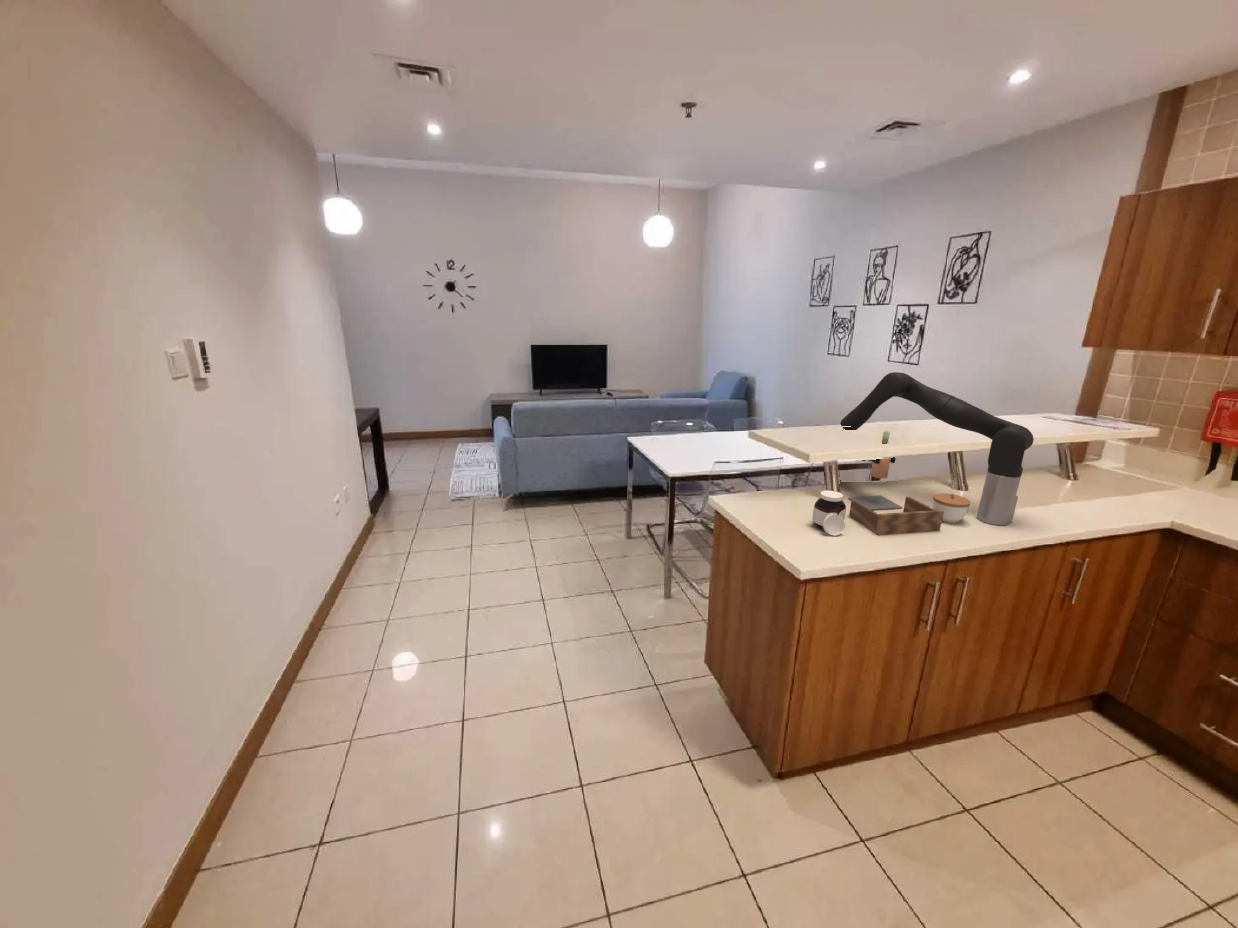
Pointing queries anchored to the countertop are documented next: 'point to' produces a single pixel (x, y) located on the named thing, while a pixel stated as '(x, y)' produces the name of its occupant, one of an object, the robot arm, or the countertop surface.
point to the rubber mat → (876, 502)
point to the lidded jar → (951, 506)
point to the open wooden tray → (898, 518)
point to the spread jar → (830, 512)
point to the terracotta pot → (881, 462)
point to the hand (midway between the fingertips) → (886, 460)
